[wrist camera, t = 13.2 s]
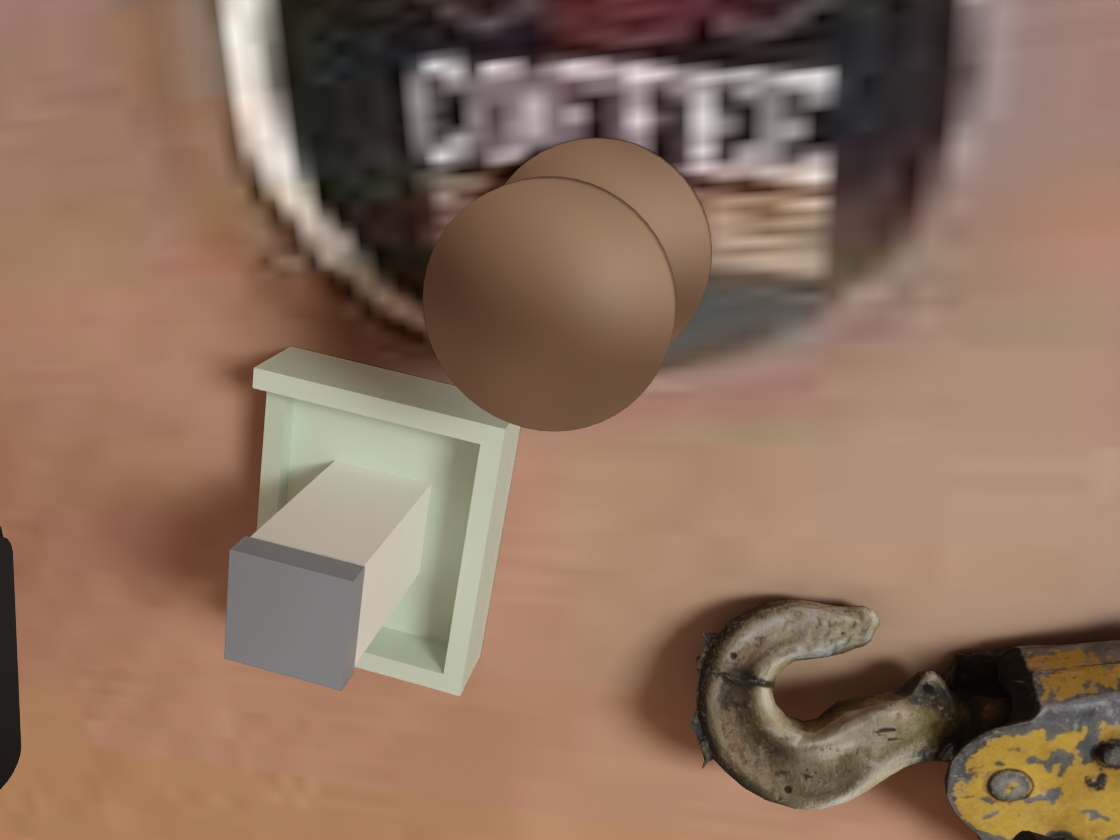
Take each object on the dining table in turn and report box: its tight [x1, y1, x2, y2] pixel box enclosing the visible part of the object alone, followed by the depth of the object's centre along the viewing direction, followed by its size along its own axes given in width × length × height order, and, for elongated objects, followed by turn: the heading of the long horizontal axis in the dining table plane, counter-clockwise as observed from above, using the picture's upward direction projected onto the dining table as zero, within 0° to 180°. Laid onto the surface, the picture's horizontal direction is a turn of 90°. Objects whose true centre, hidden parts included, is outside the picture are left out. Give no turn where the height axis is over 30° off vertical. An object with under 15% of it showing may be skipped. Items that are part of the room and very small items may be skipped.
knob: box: [423, 137, 712, 431], centre depth 31 cm, size 8×8×9 cm
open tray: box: [253, 346, 520, 696], centre depth 39 cm, size 12×10×3 cm
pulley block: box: [690, 599, 1120, 840], centre depth 36 cm, size 14×6×30 cm
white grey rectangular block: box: [224, 460, 431, 691], centre depth 36 cm, size 4×4×8 cm
